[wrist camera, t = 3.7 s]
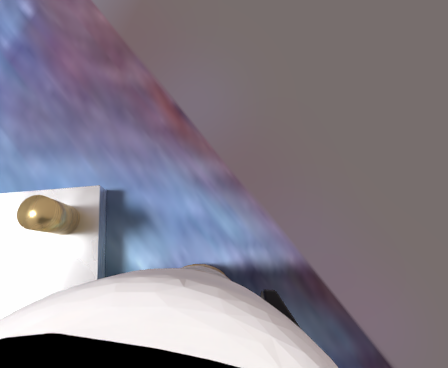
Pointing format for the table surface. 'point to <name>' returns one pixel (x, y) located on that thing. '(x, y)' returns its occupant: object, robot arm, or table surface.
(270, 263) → the table surface
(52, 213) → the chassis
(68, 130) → the table surface
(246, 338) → the sprinkles bottle
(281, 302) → the robot arm
